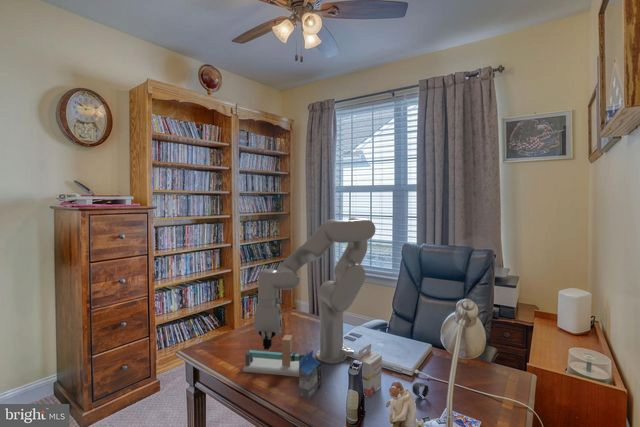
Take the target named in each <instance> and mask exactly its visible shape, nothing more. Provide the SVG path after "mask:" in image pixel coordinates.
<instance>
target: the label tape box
mask: <svg viewBox="0 0 640 427" xmlns="http://www.w3.org/2000/svg"><path fill="white" fill-rule="evenodd" d="M313 354H314V350H311V351H310V352H308V354H307V355H306V356H305V357H304V358H302V359H301V360H300V361H299V378H298V379H299V381H298V382H299V397H300V398H303V399H306V400H310V399H311V398H312V397H313V396H314V395H315V394H316V393H317V392H318V390H319V389H320V388H321V387H322V362H321V361H319V360H318V359H317V358H315V357H313ZM306 358H308V359H307V360H306V361H304V360H305V359H306Z"/></svg>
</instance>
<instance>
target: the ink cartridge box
mask: <svg viewBox="0 0 640 427" xmlns="http://www.w3.org/2000/svg"><path fill="white" fill-rule="evenodd" d="M371 349H372V343H369V344H367V345H366V346H364V347H363V348H362V349H359V350H358V356H357V362H358V361H359V362H362V363H363V367H362V380H363V388H364V394H365V396H367V397H369V396H370V395H372V394H373V393H374V392H375V391H376V390H377V389H378V388H379V387H381V388H382V368H383V367H382V366H383V365H382V361H383V354H380V353H377V352H373V351H371ZM377 391H378V390H377ZM377 391H376V392H377ZM376 392H375V393H376ZM375 393H374V394H375ZM374 394H373V395H374ZM373 395H372V396H373ZM365 396H364V397H365ZM367 397H366V398H367ZM369 398H370V397H369Z"/></svg>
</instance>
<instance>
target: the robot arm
mask: <svg viewBox="0 0 640 427" xmlns="http://www.w3.org/2000/svg"><path fill="white" fill-rule="evenodd" d="M375 234H376V225H375V223H374V222H373V221H372V220H371V219H367V218H363V217H350V218H348V219H347V220H338V219H331V218H330V219H326V220H325V221H323V223H322V224H321V225H320V226H319V227H318V228H317V229H316V230H315V231H314V233H313V234H312V235H311V236H310V237H309V238H308V239H307V240H306V241H305V242H304V243H303V244H302V245H301V246H299V247H298V248H297V249H295V250H294V251H292V252H291V253H290V254H289V255H288V256H287V257H286V258H285V259H284V260H283V261H282V262H281V263H280V264H279V265H278V267H277V268H276V269H273V268H263V269H261V270H260V271H259V272H258V279H257V280H258V284H257V285H258V286H257V287H258V288H257V290H258V291H257V294H258V296H257V304H256V306H255V311H254V318H253V319H254V320H253V333H256V334H259V336H260V337H261V338H262V346H263V351H268V350H269V349H270V348H271V347H272V343H273V342H272V340H273V337H275V336H278V335H279V336H280V335H281V334H282V329H281V328H282V325H283V322H282V321H283V320H282V309H281V305H280V304H282V299H280V298H279V290H286V291H287V290H289V291H290V290H293V289H296V288H297V287H298V286H299V284H300V276H299V274H298V272H299V270H300V269H301V268H302V267H304V266H305V265H306V264H308V263H310V262H313V261H316V260H319V259H321V258H322V256H324V254H325V253H326V252H327V251H328V249H330V247H331V246H333V244H334V243H341V244H342V243H343V244H344V243H347V246H346V248H345V249H344V251H343V252H342V255H341V256H340V258H339V259H338V261H337V262H336V264H335V267H334V270H333V273H334V275H335V278H336V279H338V282H337V281H335V280H326V281H324V282H323V283H322V284H321V285H320V287H319V289H318V290H319V291H318V303H319V313H320V315H319V327H320V328H319V330H320V331H319V336H320V337H319V350H317V351H316V355H315V356H316V360H317V361H319V362H320V363H324V364H331V365H336V364H340V363H342V362H345V361H346V359H347V356H353V357H354V354H355V351H354V350H352V347H348V348H347V347H345V343H344V312H346V311H347V310H348V309H349V308H350V307H351V306H352V304H353V303H354V301H355V299H356V298H357V296H358V293H359V292H360V291H361V289H362V287H363V286H364V283H365V280H366V271H365V268H364V267H363V266H362V265H361V264H362V263H363V260H364V258H365V257H366V254H367V251H368V240H371V239H372V238H373V237H374V236H375Z"/></svg>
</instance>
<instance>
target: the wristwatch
mask: <svg viewBox="0 0 640 427" xmlns="http://www.w3.org/2000/svg"><path fill="white" fill-rule="evenodd" d="M421 387H424V388H423V390H422V392H420V388H421ZM429 392H430V389H429V385H427V384H426V383H424V382H415V383H414V384H413V385H412V393H413V394H414V395H415V396H417V398H419V399H422V397H421V396H420V395H423V396H424V397H425V398H426V397H427V396H428V394H429Z"/></svg>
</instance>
